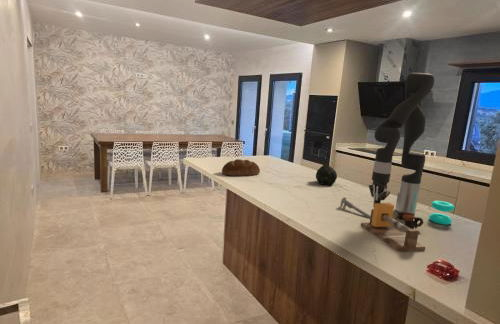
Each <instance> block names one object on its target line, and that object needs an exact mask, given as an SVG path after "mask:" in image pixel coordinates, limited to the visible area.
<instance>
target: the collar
mask: <svg viewBox="0 0 500 324" xmlns="http://www.w3.org/2000/svg"><path fill="white" fill-rule="evenodd" d="M373 204H374V205H373V206H374V207H373V209H374V210H373V216H372V223H371V224H372V225H373V226H375V227H386V226H391V227H392V224H390V223H388V222H387V221H385V220H383V219H382V218H381V216H382V214H385V215H387V216H389V217H391V218H393V216H394V215H393V214H394V210H395V209H394V208H395V205H394V204H392V203H390V202H385V203H384V202H380V203H374V202H373Z"/></svg>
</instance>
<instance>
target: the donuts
mask: <svg viewBox="0 0 500 324" xmlns="http://www.w3.org/2000/svg"><path fill="white" fill-rule="evenodd" d="M431 207H432V208H434V210H437V211H440V212H444V213H446V212H448V213H450V212H453V211H455V205H454V204H452V203H450V202H447V201H444V200H443V201H442V200H433V201H432V202H431ZM428 218H429V220H430V221H431V222H433V223H436V224H439V225H445V226H447V225H450V224H451V223H452V221H453V220H452V218H451V217H450V216H449V215H447V214H443V213H439V212H433V213H431V214H429V216H428Z"/></svg>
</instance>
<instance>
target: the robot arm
mask: <svg viewBox="0 0 500 324" xmlns="http://www.w3.org/2000/svg"><path fill="white" fill-rule="evenodd" d="M404 83H405V85H404V87H405V88H404V92H405V93H404V94H405V95H404V96H405V100H404V101H402V102H400V103H399V104H397V106H396V107H394V109H393V111H392V112H391V114H390V115H389V117H388V118H387V119H385V120H384V121H383V122H382V123H381V124H380V125H379V126H378V127H377V128H376V130H375V132H374V139H375V140H376V142H378V143H383V144H386V145H385V146H384V147H379V148H377V149H376V152H375V159H374V163H373V166H372V167H373V169H372V175H371V180H372V184H369V185H368V189H369V192H370V196H371V198H372V197H373V208H374V203H382V202H381V201H385V200H386V199H387V198H388V197H389V195H390V194H391V191H388V183H390V180H391V179H390V178H391V173H392V172H391V171H392V163H393V156H394V153H395V150H396V149H397V148H396V147H397V146H398V143H399V142H400V140H401V131H400V130H399V129H400V128H402V127H403V130H404V131H403V132H404V133H403V144H402V145H403V146H402V151H401V152H402V154H401V167H402V168H404V169H407V170H412V171H413V170H414V171H415V172H413V173H408V174H403V175H402V176H401V180H400V187H399V192H398V193H397V197H396V202H395V203H396V204H395V207H394V208H395V209H394V210H396V212H397V213H401V212H408V213H413V214H414V215H416V210H417V204H418V199H419V193H420V188H421V187H420V186H421V182H422V177H423V172H424V166H425V162H426V155H425V153H422V152H418V151H417V152H416V151H411V148H412V147H413V145H414V144H415V142H417V140H419V138H420V137H421V136H422V135H423V134H424V132H425V129H426V115H425V114H424V111H423V109H422V108H421V106H420V104H421V103H422V102H423V100H425V98H426V97H427V95H429V93H430V92H431V91H432V89H433V88H434V85H435V77H434V75H433V74H431V73H425V72H424V73H423V72H410V73H408V75H407V76H406V79H405V82H404Z"/></svg>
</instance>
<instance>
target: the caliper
mask: <svg viewBox="0 0 500 324" xmlns="http://www.w3.org/2000/svg"><path fill="white" fill-rule="evenodd" d="M347 199H348V198H347V197H345V196H343V198H342V199H341V201H340V208H343V209H345V208H346V207H347V208H349V209H353V210H354V211H356V212H358V213H359V214H361V215H362V216H364V217H366V218H367V219H370V217H371V214H369V213H367V212H366V211H364V210H362V209H360V208H359V207H357V206H356V205H354V204H353V203H352V202H350V201H349V200H347Z"/></svg>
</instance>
